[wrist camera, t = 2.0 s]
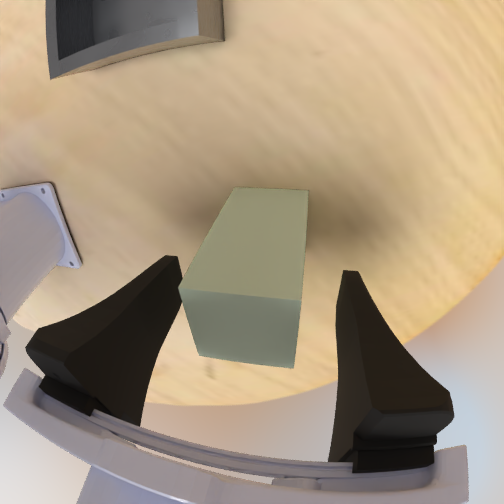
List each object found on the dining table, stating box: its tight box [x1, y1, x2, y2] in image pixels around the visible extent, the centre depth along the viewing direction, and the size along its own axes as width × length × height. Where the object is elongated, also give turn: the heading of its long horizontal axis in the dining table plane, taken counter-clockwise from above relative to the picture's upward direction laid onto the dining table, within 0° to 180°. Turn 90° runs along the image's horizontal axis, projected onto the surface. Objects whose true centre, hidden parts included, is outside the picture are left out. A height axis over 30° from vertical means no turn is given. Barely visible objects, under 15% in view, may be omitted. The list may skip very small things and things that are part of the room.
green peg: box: [178, 187, 309, 368], centre depth 13 cm, size 4×4×8 cm
